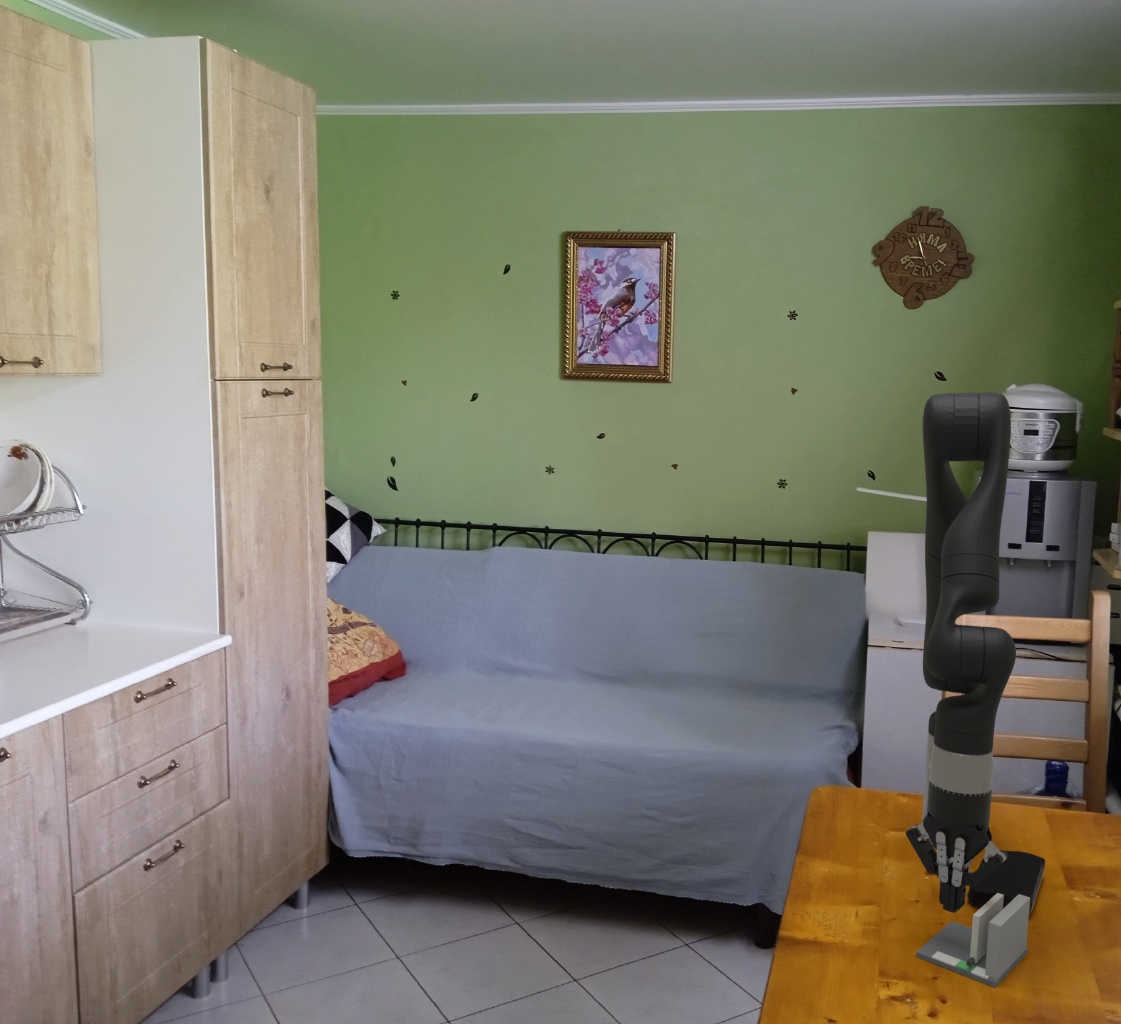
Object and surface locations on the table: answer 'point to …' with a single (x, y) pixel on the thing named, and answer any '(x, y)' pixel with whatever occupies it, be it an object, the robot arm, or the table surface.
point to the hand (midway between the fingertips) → (951, 908)
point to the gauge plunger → (983, 927)
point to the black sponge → (1010, 880)
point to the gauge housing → (1001, 948)
